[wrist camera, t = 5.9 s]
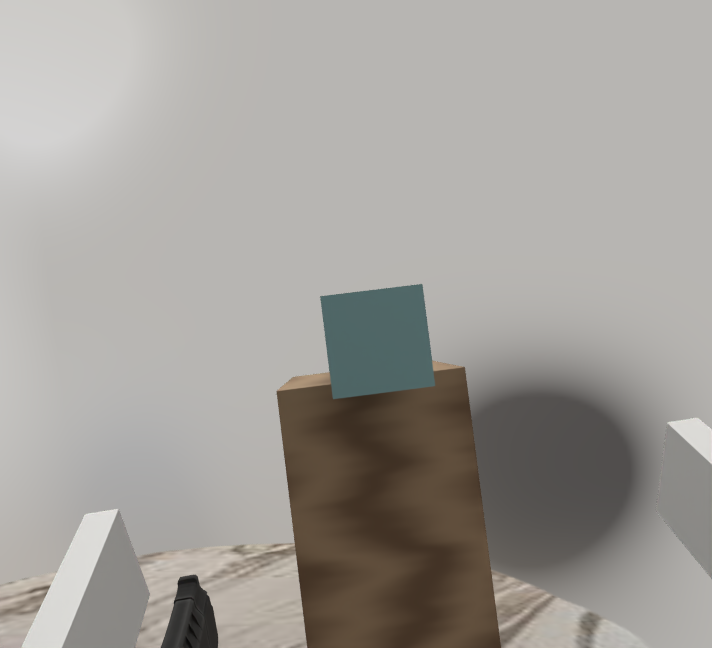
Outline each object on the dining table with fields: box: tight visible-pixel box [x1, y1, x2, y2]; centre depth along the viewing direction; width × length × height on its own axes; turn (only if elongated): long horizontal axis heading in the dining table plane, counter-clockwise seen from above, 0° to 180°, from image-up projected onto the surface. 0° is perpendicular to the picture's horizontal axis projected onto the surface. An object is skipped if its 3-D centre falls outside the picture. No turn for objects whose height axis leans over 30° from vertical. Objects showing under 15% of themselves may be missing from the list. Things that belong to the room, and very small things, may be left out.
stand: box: [277, 361, 501, 648], centre depth 36 cm, size 12×14×30 cm
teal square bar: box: [321, 284, 435, 399], centre depth 33 cm, size 4×22×4 cm, turn 2°
